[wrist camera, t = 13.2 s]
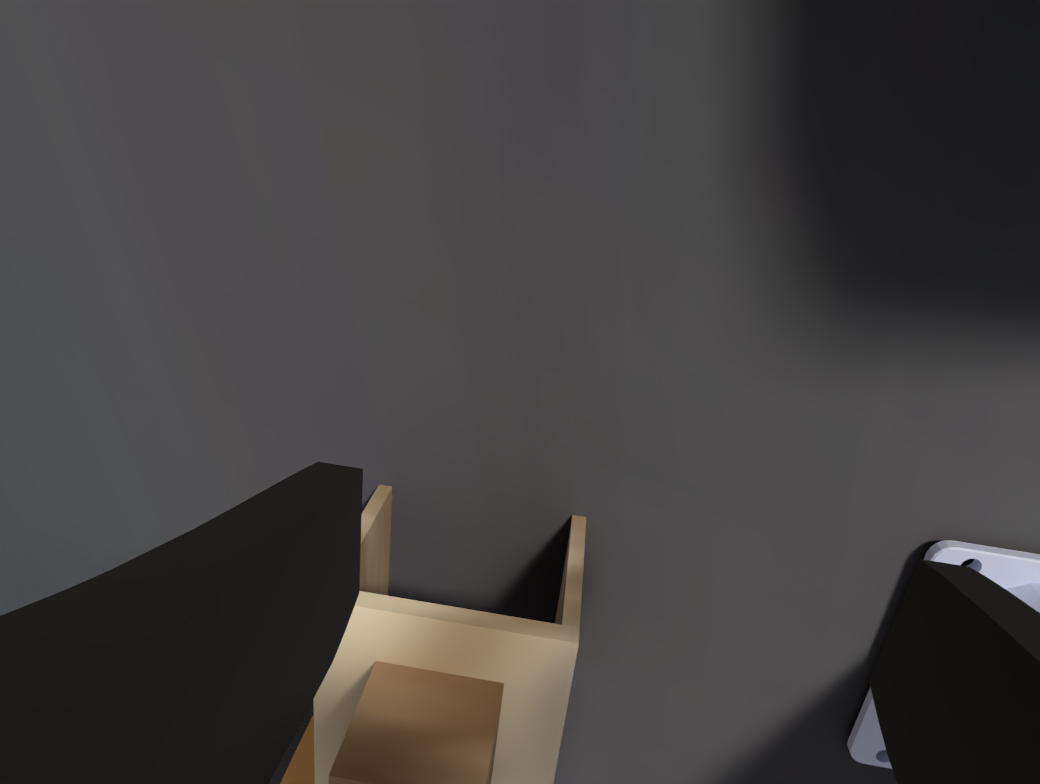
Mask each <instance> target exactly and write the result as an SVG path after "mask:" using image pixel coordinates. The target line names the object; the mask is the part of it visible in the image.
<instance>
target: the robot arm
mask: <svg viewBox="0 0 1040 784" xmlns="http://www.w3.org/2000/svg"><path fill="white" fill-rule="evenodd" d="M362 478H363V469H359V468H353V467H347V466H341V465H335V464H328V463H322V462H317V463H315V464H313V465H311V466H309V467H307V468H305V469H303V470H301V471H299V472H297V473H295V474H293V475H291V476H290V477H288V478H286V479H284V480H282V481H280V482H279V483H277V484H275V485H273V486H272V487H270V488H268V489H266V490H264V491H263V492H261V493H259V494H257V495H255V496H254V497H252V498H250V499H248V500H246V501H245V502H243V503H241V504H239V505H237V506H235V507H234V508H232V509H230V510H228V511H226V512H224V513H223V514H221V515H219V516H217V517H215V518H213V519H212V520H210V521H208V522H206V523H204V524H202V525H200V526H199V527H197V528H195V529H193V530H191V531H189V532H187V533H185V534H183V535H181V536H179V537H177V538H175V539H173V540H171V541H169V542H167V543H165V544H163V545H161V546H159V547H157V548H154V549H152V550H150V551H148V552H146V553H144V554H142V555H140V556H138V557H136V558H134V559H132V560H130V561H128V562H126V563H124V564H122V565H120V566H118V567H116V568H114V569H112V570H110V571H107V572H105V573H103V574H101V575H98V576H96V577H94V578H92V579H90V580H87V581H85V582H83V583H80V584H78V585H76V586H73V587H71V588H69V589H66V590H64V591H62V592H59V593H57V594H54V595H52V596H49V597H47V598H44V599H42V600H39V601H37V602H34V603H32V604H29V605H27V606H24V607H22V608H19V609H17V610H14V611H12V612H9V613H7V614H4V615H1V616H0V784H268V783H269V781H270V779H271V777H272V775H273V774H274V772H275V770H276V768H277V766H278V764H279V762H280V760H281V759H282V757H283V755H284V753H285V751H286V749H287V747H288V746H289V744H290V742H291V740H292V738H293V736H294V734H295V733H296V731H297V729H298V727H299V725H300V723H301V721H302V719H303V718H304V716H305V714H306V712H307V710H308V708H309V706H310V704H311V703H312V701H313V699H314V697H315V695H316V693H317V691H318V689H319V687H320V685H321V684H322V682H323V680H324V678H325V676H326V674H327V672H328V670H329V668H330V666H331V664H332V662H333V660H334V658H335V656H336V653H337V650H338V648H339V645H340V643H341V640H342V638H343V635H344V633H345V630H346V628H347V625H348V622H349V619H350V617H351V614H352V611H353V609H354V606H355V603H356V601H357V598H358V595H359V589H360V552H361V515H362ZM968 559H974V561H973V562H972V563H971V564H969V565H967V566H960V565H961V564H962V563H963V562H964V561H966V560H968ZM869 683H870V689H869V691H868V693H867V696H866V698H865V701H864V703H863V705H862V708H861V710H860V713H859V715H858V717H857V720H856V722H855V724H854V727H853V729H852V732H851V734H850V736H849V739H848V743H847V746H848V749H849V752H850V754H851V756H852V758H853V759H854V760H855V761H857V762H860V763H863V764H868V765H874V766H879V767H885V768H890V769H893V772H894V774H895V777H896V780H897V782H898V784H1040V554H1034V553H1028V552H1022V551H1015V550H1009V549H1003V548H997V547H990V546H984V545H978V544H972V543H965V542H959V541H953V540H944V541H941V542H937V543H935V544H934V545H933V546H931V547H930V548H929V550H928V551H927V552H926V555H925V557H924V559H919V561H918V564H917V566H916V568H915V571H914V573H913V576H912V578H911V580H910V583H909V585H908V588H907V590H906V592H905V595H904V597H903V600H902V602H901V605H900V607H899V609H898V612H897V614H896V617H895V619H894V621H893V624H892V626H891V629H890V631H889V633H888V636H887V638H886V641H885V643H884V646H883V648H882V650H881V653H880V655H879V658H878V660H877V662H876V665H875V667H874V670H873V672H872V674H871V677H870V679H869ZM882 750H885V751H882Z"/></svg>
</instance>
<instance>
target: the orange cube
mask: <svg viewBox="0 0 1040 784" xmlns="http://www.w3.org/2000/svg"><path fill="white" fill-rule="evenodd" d="M280 784H315V771H314V716H312V718H311V720H310V722H309V724H308V726H307V728H306V730H305V732H304V735H303V737H302V739H301V741H300V743H299V745H298V747H297V749H296V751H295V753H294V756H293V758H292V760H291V762H290V764H289V766H288V768H287V770H286V772H285V774H284V777H283V779H282V781H281V783H280Z"/></svg>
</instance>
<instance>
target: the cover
mask: <svg viewBox="0 0 1040 784" xmlns="http://www.w3.org/2000/svg"><path fill="white" fill-rule="evenodd" d="M391 511H392V487H391V486H385V485H378V487H377V489H376V490H375V492H374V494H373V495H372V497H371V499H370V501H369V502H368V504H367V506H366V507H365V509H364V511H363V513H362V515H361V552H360V589H359V595H358V598H357V601H356V603H355V606H354V609H353V611H352V614H351V617H350V619H349V622H348V625H347V628H346V630H345V633H344V635H343V638H342V640H341V643H340V645H339V648H338V650H337V653H336V656H335V658H334V660H333V662H332V664H331V666H330V668H329V670H328V672H327V674H326V676H325V678H324V680H323V682H322V684H321V685H320V687H319V689H318V691H317V693H316V695H315V697H314V699H313V701H314V771H315V784H553V783H554V777H555V772H556V766H557V761H558V755H559V750H560V744H561V739H562V733H563V728H564V722H565V717H566V711H567V706H568V700H569V695H570V689H571V684H572V678H573V673H574V667H575V662H576V656H577V651H578V645H579V631H580V615H581V598H582V582H583V566H584V549H585V533H586V517H582V516H576V515H572V520H571V526H570V533H569V539H568V545H567V551H566V557H565V564H564V570H563V576H562V582H561V588H560V595H559V601H558V607H557V613H556V619H555V624H554V623H548V622H542V621H536V620H530V619H524V618H518V617H512V616H506V615H500V614H494V613H488V612H482V611H476V610H470V609H464V608H458V607H453V606H447V605H441V604H435V603H429V602H423V601H417V600H411V599H405V598H399V597H393V596H388V586H389V561H390V536H391Z"/></svg>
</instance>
